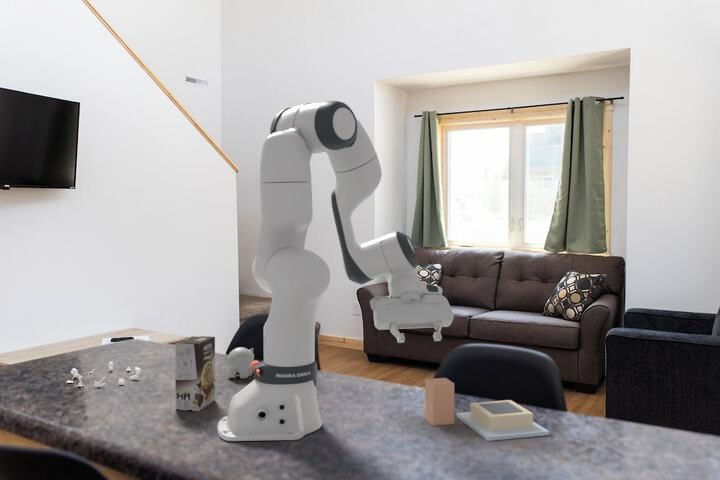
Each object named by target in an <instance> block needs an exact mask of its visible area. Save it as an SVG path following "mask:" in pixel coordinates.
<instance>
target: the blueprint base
mask: <svg viewBox="0 0 720 480" xmlns="http://www.w3.org/2000/svg"><path fill="white" fill-rule="evenodd" d="M469 404H470V405H469V406H470V407H469V409H470V410H469V411H463V412H456V417H457V418H458V419H460V420H461V421H462V422H463V423H465V424H466V425H467V426H468V427H469V428H471V429H472V430H473V431H474V432H476V433H477V434H478V435H479V436H480V437H482V438H483V439H484V440H485V441H487V442H491V441H499V440H500V441H502V440H511V439H519V438H520V439H522V438H533V437H541V436H542V437H544V436H550V430H548V429H546V428H545V427H543V426H541V425H540V424H539V423H538V422H537V423H536V422H535V421H534V413H533V412H531V411H530V410H528V409H527V408H525V407H523V406H521V405H520V404H518V403H516V401H513V400H512V399H504V400H495V401H494V400H493V401H480V402H470V403H469Z"/></svg>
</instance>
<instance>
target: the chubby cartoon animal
mask: <svg viewBox="0 0 720 480" xmlns="http://www.w3.org/2000/svg"><path fill="white" fill-rule="evenodd" d="M254 359H255V354H254V347H252V348H250V349H248V348H247V347H244V346H243V347H242V346H241V347H235V348H234V349H232V350H231V351H230V352H229V354H228V356H227V365H228V371H227V374H226V376H227V378H228V379H230V378H234V379H236V378H237V377H239V378H240V379H243V380H244V379H248V378H249V377H251V376H252V375H253V374H252V373H253V370H252V368H251V363H252V362H253V361H255V360H254ZM237 375H239V376H237ZM248 376H249V377H248Z"/></svg>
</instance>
